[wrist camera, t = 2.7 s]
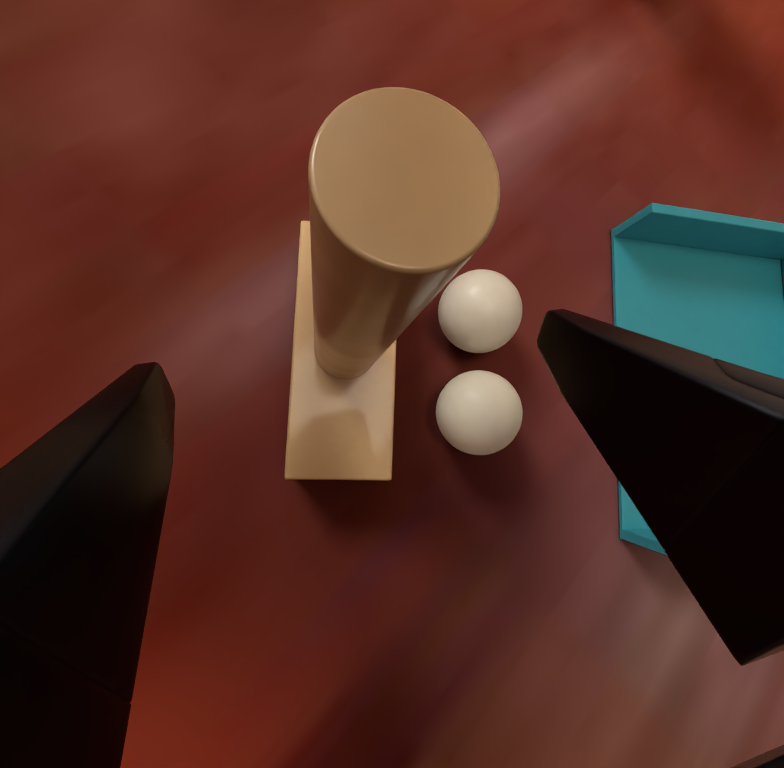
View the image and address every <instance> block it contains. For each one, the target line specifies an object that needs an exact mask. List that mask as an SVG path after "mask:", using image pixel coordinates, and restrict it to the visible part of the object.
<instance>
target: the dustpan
mask: <svg viewBox="0 0 784 768" xmlns="http://www.w3.org/2000/svg"><path fill="white" fill-rule="evenodd" d="M611 244H612V279H613V314H614V325H615V326H618V327H621V328H624V329H627V330H630V331H633V332H636V333H639V334H643V335H646V336H649V337H652V338H655V339H658V340H661V341H664V342H667V343H670V344H673V345H677V346H680V347H683V348H686V349H689V350H692V351H695V352H698V353H701V354H704V355H707V356H711V357H712V358H713V359H714V358H717V359H720V360H723V361H726V362H729V363H732V364H736V365H739V366H742V367H745V368H748V369H752V370H755V371H758V372H761V373H765V374H768V375H772V376H775V377H778V378H782V379H784V300H783V289H784V224H783V223H776V222H770V221H764V220H758V219H751V218H745V217H739V216H732V215H726V214H720V213H714V212H707V211H701V210H695V209H689V208H682V207H676V206H670V205H663V204H657V203H651V204H650V205H648V206H647V207H645V208H644V209H642V210H641V211H639V212H638V213H636V214H635V215H633V216H632V217H630V218H629V219H627V220H626V221H624V222H623V223H621V224H620V225H618V226H617V227H615V228H613V229H612V230H611ZM780 260H781V262H780ZM781 264H782V275H781ZM782 276H783V287H782ZM618 490H619V525H620V539H623V540H626V541H629V542H631V543H634V544H637V545H639V546H642V547H645V548H648V549H650V550H653V551H656V552H658V553H661V554H664V555H666V556H667V554H666V553H665V549H663V548H662V546H661V545H660V543H659V542H658V540H657V539H656V537H655V536H654V534H653V533H652V531H651V530H650V528H649V526H648V525H647V523H646V522H645V520H644V519H643V517H642V516H641V514H640V513H639V511H638V510H637V508H636V507H635V505H634V504H633V502H632V500H631V499H630V497H629V496H628V494H627V493H626V491H625V490H624V488H623V487H622V485H621V484H620V482H619V481H618Z"/></svg>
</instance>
